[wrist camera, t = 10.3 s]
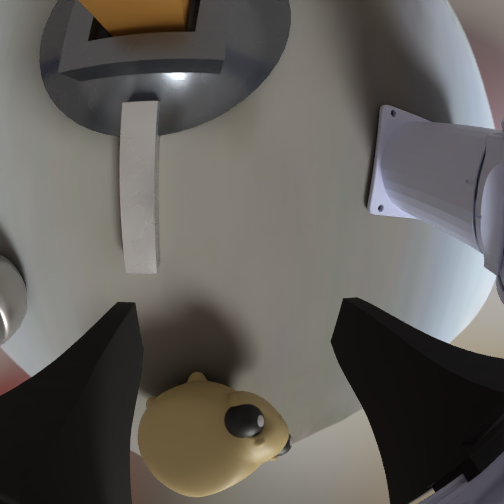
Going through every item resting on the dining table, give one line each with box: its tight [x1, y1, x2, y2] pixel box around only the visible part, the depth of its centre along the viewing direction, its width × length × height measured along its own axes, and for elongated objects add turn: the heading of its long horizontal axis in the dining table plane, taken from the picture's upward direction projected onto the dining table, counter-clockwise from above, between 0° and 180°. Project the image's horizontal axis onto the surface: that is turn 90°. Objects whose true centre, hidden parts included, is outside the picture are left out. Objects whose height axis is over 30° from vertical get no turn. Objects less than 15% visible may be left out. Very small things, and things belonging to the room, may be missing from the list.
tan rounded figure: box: [138, 372, 292, 497], centre depth 18 cm, size 10×12×11 cm
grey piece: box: [40, 0, 291, 273], centre depth 11 cm, size 16×24×4 cm, turn 175°
